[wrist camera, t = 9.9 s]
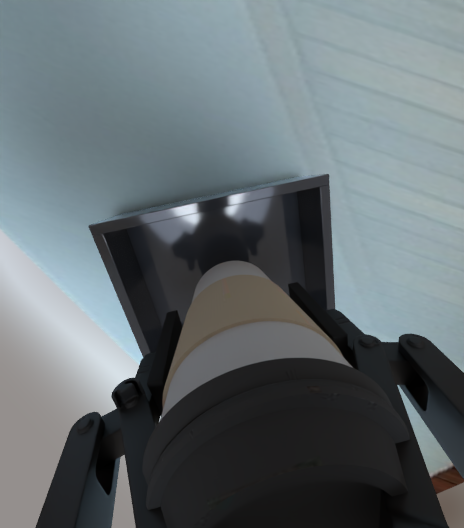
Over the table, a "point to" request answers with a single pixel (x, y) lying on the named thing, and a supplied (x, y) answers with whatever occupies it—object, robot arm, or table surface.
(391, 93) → the table surface
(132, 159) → the table surface
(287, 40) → the table surface
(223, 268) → the coffee cup
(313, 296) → the dark grey open box
